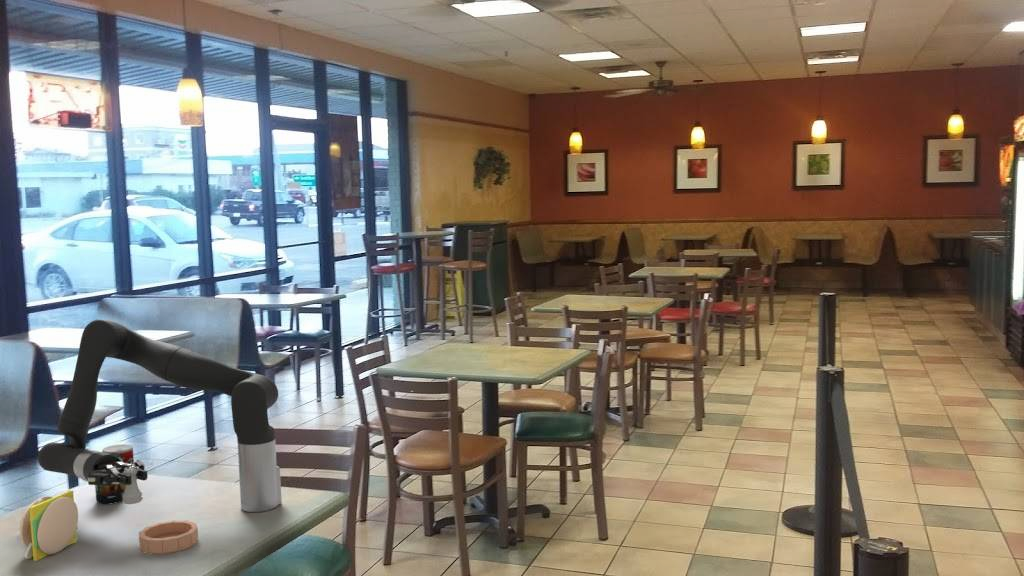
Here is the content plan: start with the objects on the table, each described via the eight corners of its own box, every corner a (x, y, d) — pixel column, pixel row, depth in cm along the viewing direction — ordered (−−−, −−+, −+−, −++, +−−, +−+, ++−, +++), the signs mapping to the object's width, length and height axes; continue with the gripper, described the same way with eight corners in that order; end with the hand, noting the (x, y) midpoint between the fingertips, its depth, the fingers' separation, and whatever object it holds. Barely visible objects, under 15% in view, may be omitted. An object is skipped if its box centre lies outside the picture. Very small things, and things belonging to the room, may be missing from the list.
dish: (176, 530, 219) (176, 517, 218) (209, 540, 211) (208, 527, 211) (128, 546, 209) (127, 533, 208) (160, 558, 201) (159, 544, 201)
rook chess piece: (130, 505, 211) (127, 471, 210) (118, 503, 213) (115, 469, 212) (147, 500, 215) (144, 466, 214) (135, 497, 217) (132, 464, 216)
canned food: (124, 491, 249) (121, 452, 248) (98, 490, 251) (95, 451, 250) (141, 483, 257) (138, 444, 256) (115, 482, 258) (113, 443, 257)
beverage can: (118, 504, 238) (115, 459, 237) (91, 505, 239) (88, 460, 237) (129, 496, 245) (126, 452, 244) (103, 496, 246) (100, 452, 244)
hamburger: (55, 538, 215) (51, 488, 214) (84, 541, 212) (81, 491, 211) (14, 558, 204) (9, 505, 202) (44, 561, 201) (40, 508, 200)
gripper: (67, 459, 216) (107, 470, 206) (123, 445, 227) (164, 454, 217) (69, 490, 216) (110, 502, 206) (125, 474, 228) (166, 485, 218)
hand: (137, 478), depth 212 cm, fingers closed on rook chess piece, 3 cm apart
